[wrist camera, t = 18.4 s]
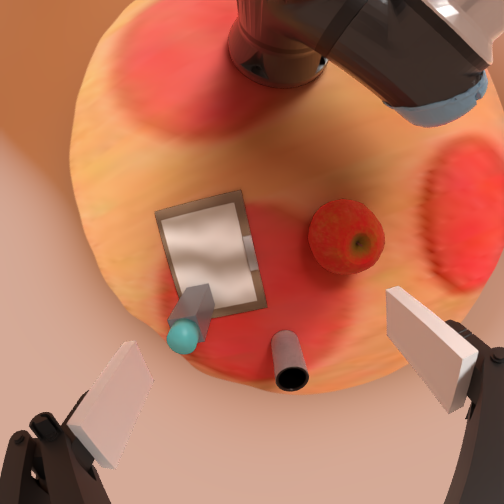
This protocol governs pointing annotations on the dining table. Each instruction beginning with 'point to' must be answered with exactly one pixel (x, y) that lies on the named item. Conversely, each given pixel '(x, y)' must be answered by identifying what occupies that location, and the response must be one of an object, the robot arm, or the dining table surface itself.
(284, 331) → the grey hollow cylinder
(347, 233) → the apple
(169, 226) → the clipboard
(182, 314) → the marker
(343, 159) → the dining table surface
